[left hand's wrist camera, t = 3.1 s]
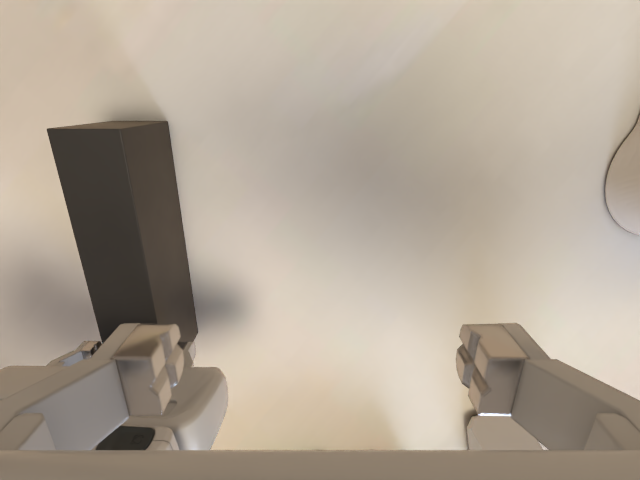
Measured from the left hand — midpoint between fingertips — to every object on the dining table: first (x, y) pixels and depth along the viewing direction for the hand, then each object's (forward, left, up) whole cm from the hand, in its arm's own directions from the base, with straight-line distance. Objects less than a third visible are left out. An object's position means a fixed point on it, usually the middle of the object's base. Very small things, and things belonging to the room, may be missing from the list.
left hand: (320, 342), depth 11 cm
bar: (+20, -2, -30) cm, 36 cm away
